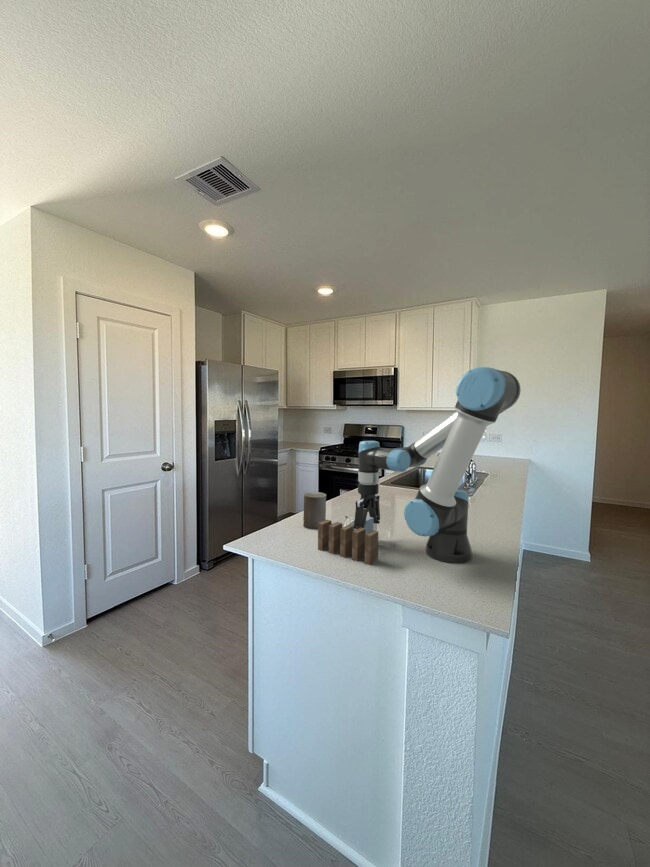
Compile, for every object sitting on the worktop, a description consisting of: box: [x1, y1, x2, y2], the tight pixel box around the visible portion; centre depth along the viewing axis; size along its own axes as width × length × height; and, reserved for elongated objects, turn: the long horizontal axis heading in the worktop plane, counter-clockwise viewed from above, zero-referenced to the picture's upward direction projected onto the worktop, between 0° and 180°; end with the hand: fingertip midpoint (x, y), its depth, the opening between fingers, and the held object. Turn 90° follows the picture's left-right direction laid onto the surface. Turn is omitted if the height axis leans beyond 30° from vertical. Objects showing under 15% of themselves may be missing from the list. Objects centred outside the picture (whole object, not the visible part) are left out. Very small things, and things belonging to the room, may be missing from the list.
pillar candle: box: [302, 491, 327, 530], centre depth 154 cm, size 10×10×15 cm
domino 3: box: [339, 525, 354, 558], centre depth 123 cm, size 2×5×10 cm, turn 143°
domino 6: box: [364, 530, 379, 566], centre depth 117 cm, size 2×5×10 cm, turn 143°
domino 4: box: [351, 527, 366, 562], centre depth 120 cm, size 2×5×10 cm, turn 143°
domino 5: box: [364, 516, 374, 534], centre depth 133 cm, size 2×5×10 cm, turn 143°
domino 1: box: [317, 519, 332, 552], centre depth 129 cm, size 2×5×10 cm, turn 143°
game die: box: [342, 515, 362, 530], centre depth 142 cm, size 9×8×10 cm
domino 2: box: [328, 521, 343, 555], centre depth 126 cm, size 2×5×10 cm, turn 143°
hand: (367, 543), depth 134 cm, fingers open, 8 cm apart
